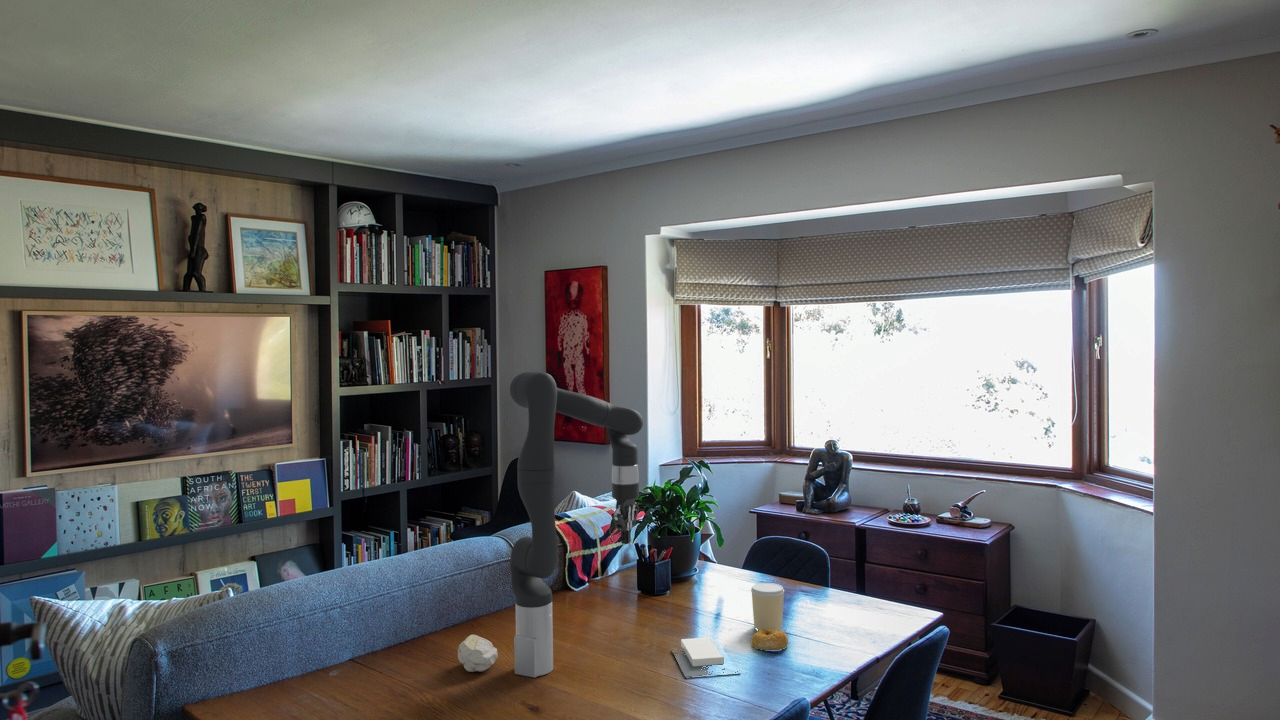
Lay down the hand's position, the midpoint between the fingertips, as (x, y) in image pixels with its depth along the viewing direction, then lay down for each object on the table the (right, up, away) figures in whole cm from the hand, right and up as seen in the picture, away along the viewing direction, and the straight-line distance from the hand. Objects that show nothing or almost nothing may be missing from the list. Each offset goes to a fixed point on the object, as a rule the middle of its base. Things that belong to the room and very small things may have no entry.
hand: (626, 543), depth 223 cm
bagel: (+39, -27, -5) cm, 48 cm away
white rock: (-38, -28, -18) cm, 50 cm away
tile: (+19, -25, -6) cm, 32 cm away
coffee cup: (+41, -27, +8) cm, 49 cm away
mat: (+20, -27, -16) cm, 37 cm away
